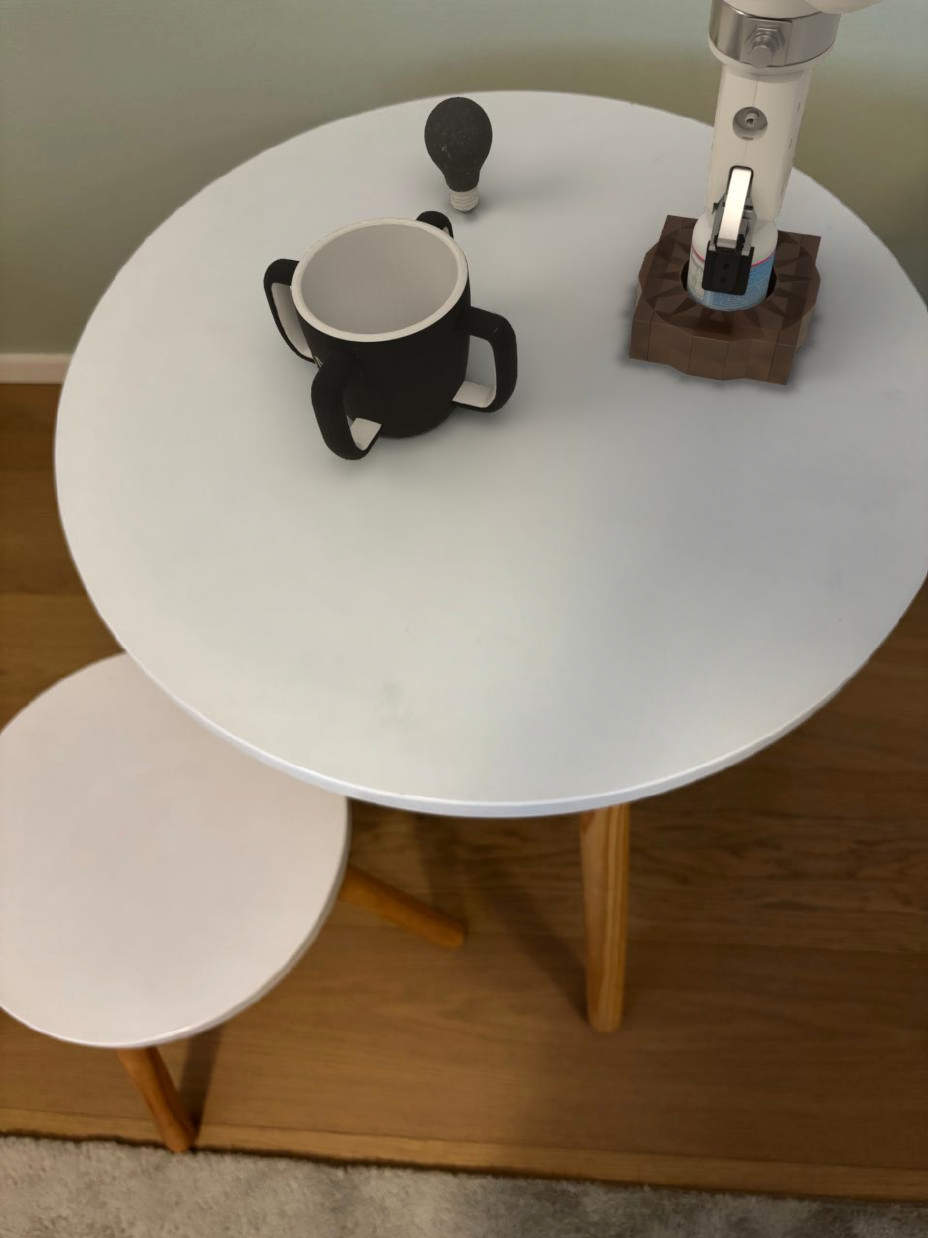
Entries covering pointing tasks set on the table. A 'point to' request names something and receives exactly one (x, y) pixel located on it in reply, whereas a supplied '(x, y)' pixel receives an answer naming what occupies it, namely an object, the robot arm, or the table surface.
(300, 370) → the table surface
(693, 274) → the pill bottle
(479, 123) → the light bulb
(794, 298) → the hole plate
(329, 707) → the table surface
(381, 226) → the mug
